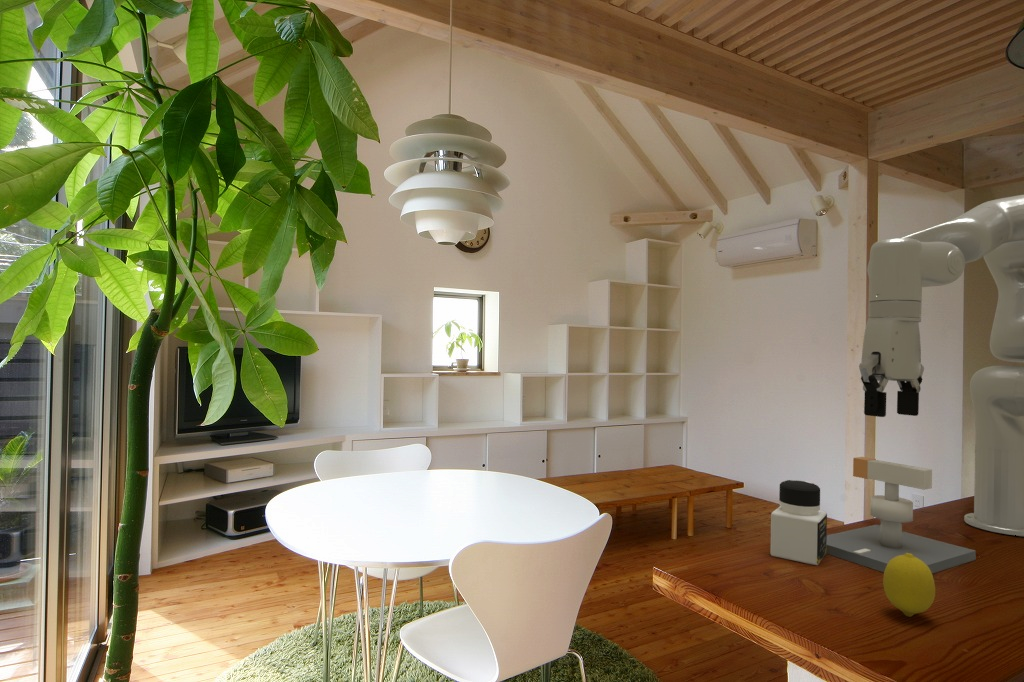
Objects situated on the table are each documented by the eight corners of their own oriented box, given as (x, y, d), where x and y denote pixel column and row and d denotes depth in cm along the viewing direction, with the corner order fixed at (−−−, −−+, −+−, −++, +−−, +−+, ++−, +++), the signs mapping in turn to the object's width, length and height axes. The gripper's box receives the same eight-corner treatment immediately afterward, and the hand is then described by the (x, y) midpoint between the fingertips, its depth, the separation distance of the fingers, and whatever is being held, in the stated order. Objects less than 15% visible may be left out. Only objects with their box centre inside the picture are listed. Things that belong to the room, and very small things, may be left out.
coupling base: (876, 532, 112) (876, 500, 112) (975, 559, 98) (976, 523, 98) (809, 547, 102) (809, 512, 102) (909, 580, 88) (909, 539, 89)
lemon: (874, 605, 79) (875, 544, 80) (919, 608, 79) (920, 547, 79) (896, 624, 74) (897, 559, 74) (944, 627, 73) (945, 562, 73)
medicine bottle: (818, 566, 94) (819, 489, 94) (769, 556, 98) (771, 482, 98) (826, 554, 99) (827, 481, 99) (780, 545, 104) (781, 475, 104)
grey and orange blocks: (846, 510, 104) (847, 458, 104) (866, 506, 107) (867, 456, 107) (917, 528, 94) (918, 471, 94) (937, 523, 97) (937, 468, 97)
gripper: (899, 317, 108) (896, 412, 108) (841, 310, 100) (838, 414, 99) (945, 315, 102) (943, 417, 101) (888, 308, 93) (885, 419, 93)
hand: (891, 415), depth 100 cm, fingers open, 9 cm apart
